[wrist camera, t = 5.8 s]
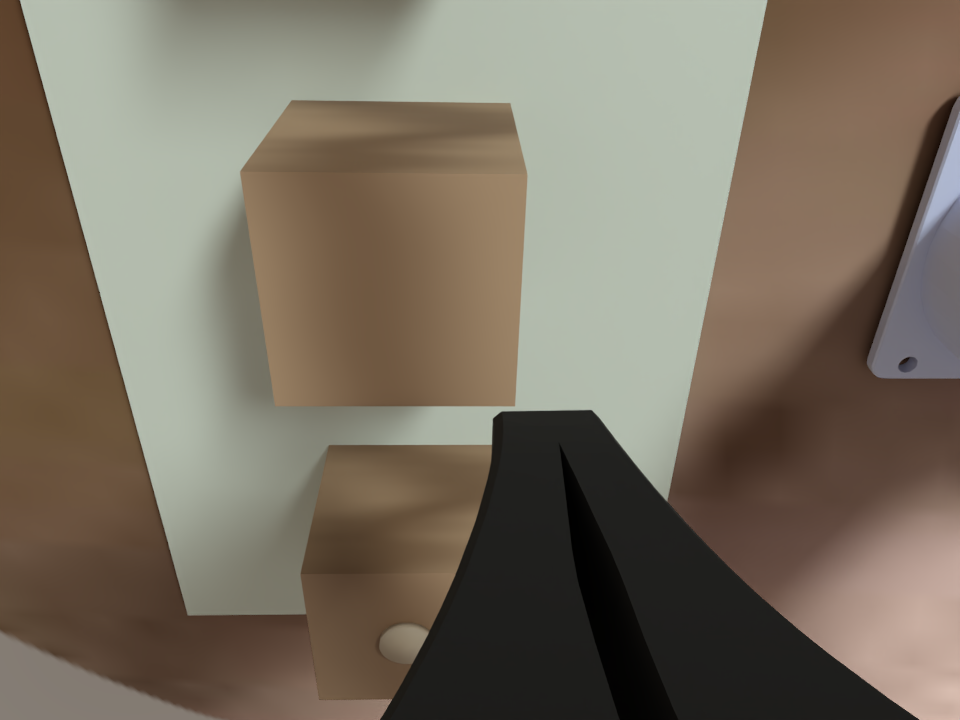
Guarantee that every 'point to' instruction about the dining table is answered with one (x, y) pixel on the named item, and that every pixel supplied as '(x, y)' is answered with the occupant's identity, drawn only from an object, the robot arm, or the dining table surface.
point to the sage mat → (397, 78)
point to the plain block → (389, 252)
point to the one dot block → (385, 558)
